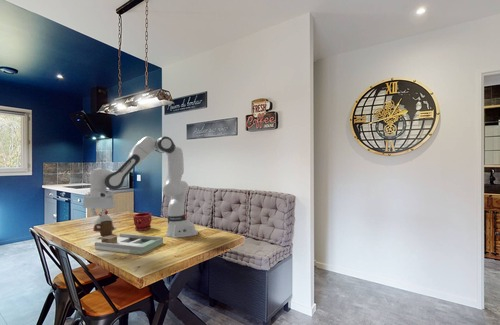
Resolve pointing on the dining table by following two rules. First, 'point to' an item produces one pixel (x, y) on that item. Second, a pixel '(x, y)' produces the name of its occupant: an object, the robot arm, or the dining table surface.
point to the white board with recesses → (126, 243)
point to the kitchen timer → (102, 219)
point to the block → (109, 239)
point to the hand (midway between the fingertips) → (98, 215)
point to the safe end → (148, 246)
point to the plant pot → (142, 221)
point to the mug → (104, 228)
